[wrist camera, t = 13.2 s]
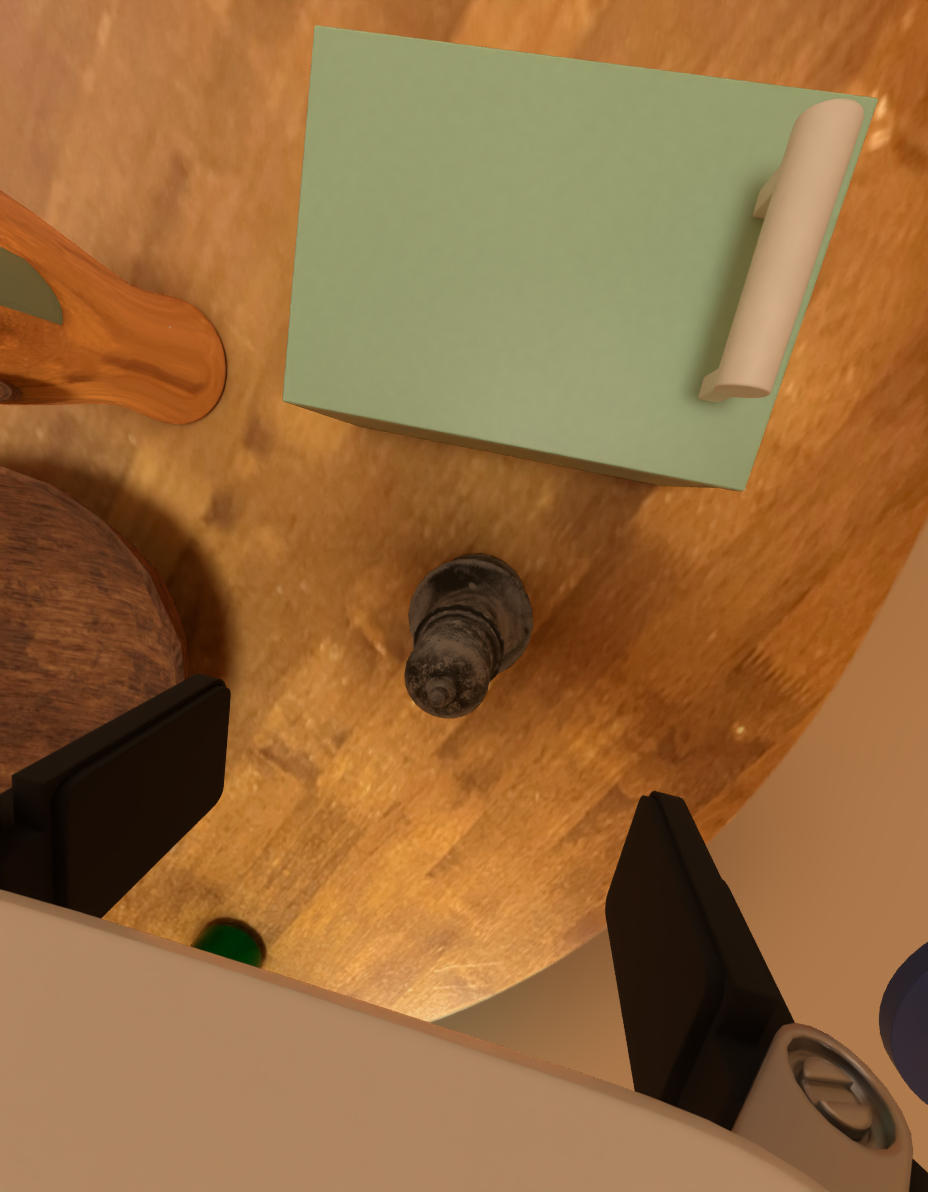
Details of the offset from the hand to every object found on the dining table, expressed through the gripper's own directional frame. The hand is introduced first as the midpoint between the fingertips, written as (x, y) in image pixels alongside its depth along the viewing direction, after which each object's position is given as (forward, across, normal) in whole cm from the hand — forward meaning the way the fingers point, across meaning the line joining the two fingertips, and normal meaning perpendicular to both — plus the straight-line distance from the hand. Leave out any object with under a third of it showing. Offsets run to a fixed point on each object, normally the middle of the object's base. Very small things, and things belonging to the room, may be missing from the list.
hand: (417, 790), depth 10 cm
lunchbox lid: (+9, 0, -13) cm, 16 cm away
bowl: (+16, +25, +7) cm, 30 cm away
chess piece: (+16, +1, 0) cm, 16 cm away
